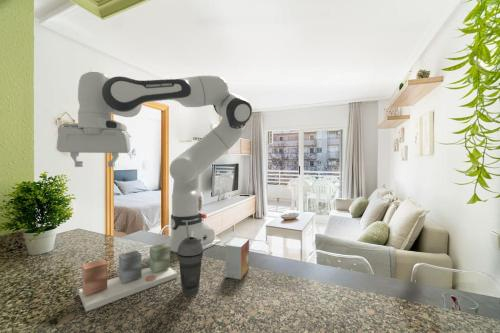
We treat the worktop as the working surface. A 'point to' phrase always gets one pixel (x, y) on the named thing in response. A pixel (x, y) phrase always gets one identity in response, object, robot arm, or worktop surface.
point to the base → (125, 287)
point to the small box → (237, 258)
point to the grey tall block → (129, 266)
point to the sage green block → (159, 257)
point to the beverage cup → (190, 264)
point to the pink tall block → (94, 276)
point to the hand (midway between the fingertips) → (95, 166)
